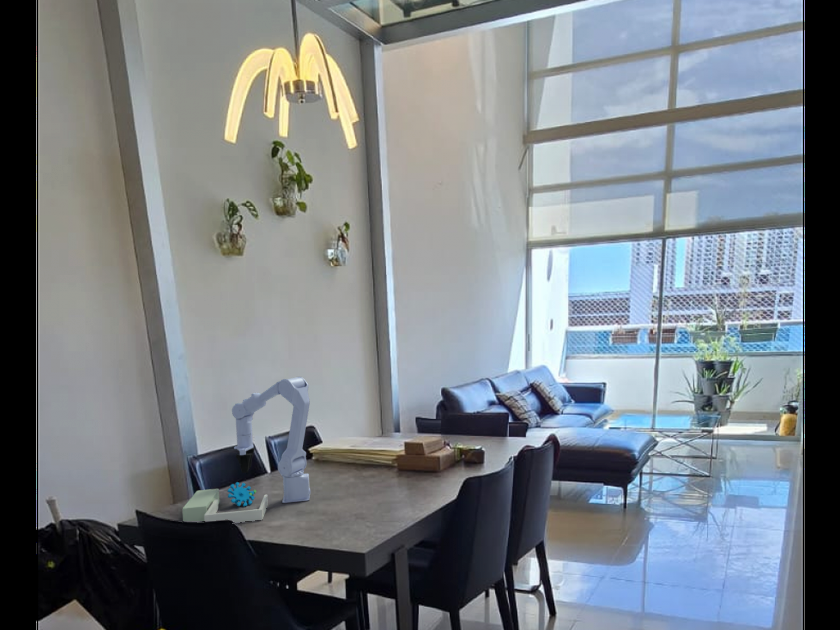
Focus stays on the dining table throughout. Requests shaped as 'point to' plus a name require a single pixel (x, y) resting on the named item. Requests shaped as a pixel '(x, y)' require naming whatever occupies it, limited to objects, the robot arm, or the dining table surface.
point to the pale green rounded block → (199, 504)
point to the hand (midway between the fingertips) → (246, 470)
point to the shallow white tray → (236, 513)
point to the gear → (241, 494)
